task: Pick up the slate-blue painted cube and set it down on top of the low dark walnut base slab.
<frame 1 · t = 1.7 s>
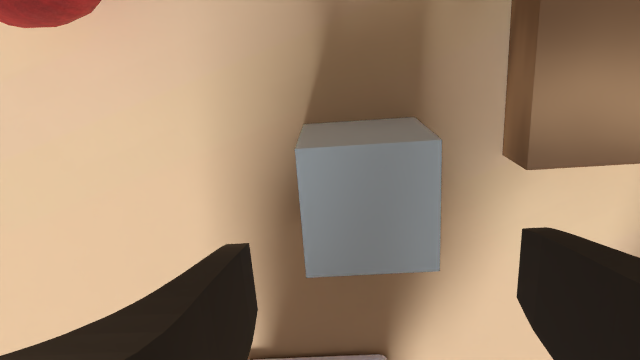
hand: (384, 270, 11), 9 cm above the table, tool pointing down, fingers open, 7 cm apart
cube: (360, 173, 20), on the table
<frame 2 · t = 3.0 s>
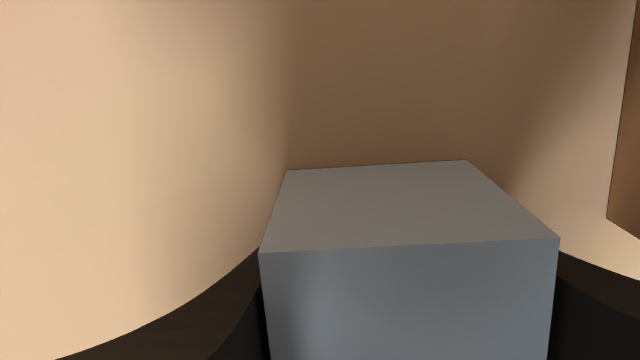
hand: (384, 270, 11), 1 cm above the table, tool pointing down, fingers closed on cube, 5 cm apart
cube: (378, 246, 13), on the table, touching gripper
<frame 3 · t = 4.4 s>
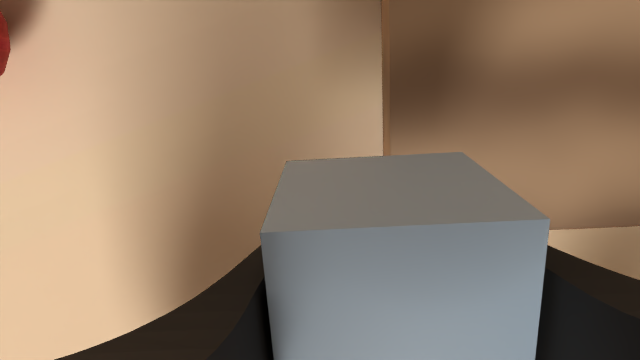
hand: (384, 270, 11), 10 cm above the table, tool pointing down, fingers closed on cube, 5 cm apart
base: (504, 97, 19), on the table
cube: (375, 236, 13), point 8 cm above the table, touching gripper
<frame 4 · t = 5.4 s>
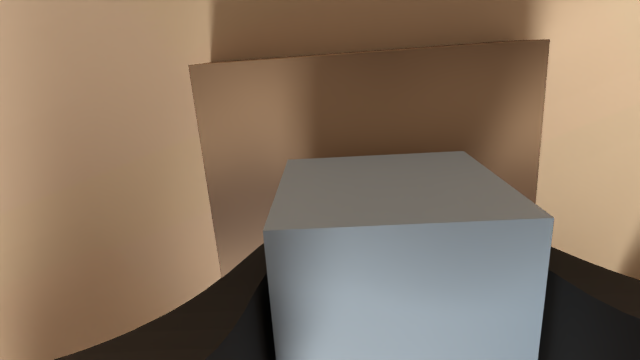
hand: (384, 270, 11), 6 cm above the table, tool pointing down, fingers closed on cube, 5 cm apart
base: (365, 194, 17), on the table
cube: (376, 235, 13), point 4 cm above the table, touching gripper
when the fingers open (5 cm above the table, at t = 6.0 s): cube drops 1 cm, resting on base.
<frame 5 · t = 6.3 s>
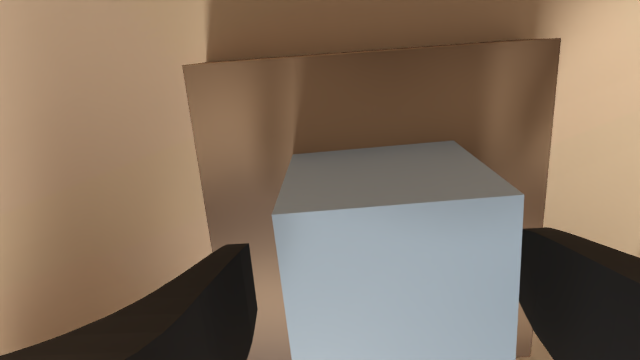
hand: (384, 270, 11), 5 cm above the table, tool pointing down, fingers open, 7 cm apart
base: (367, 199, 16), on the table
cube: (376, 221, 14), point 2 cm above the table, touching base
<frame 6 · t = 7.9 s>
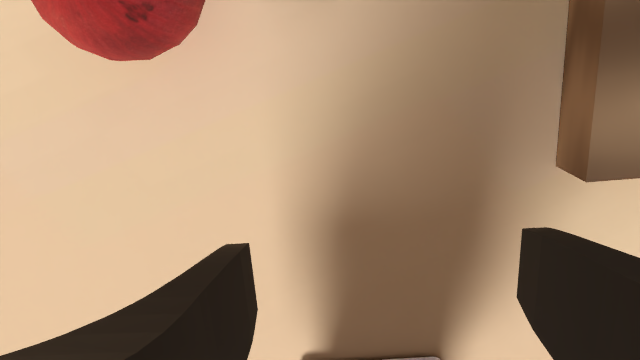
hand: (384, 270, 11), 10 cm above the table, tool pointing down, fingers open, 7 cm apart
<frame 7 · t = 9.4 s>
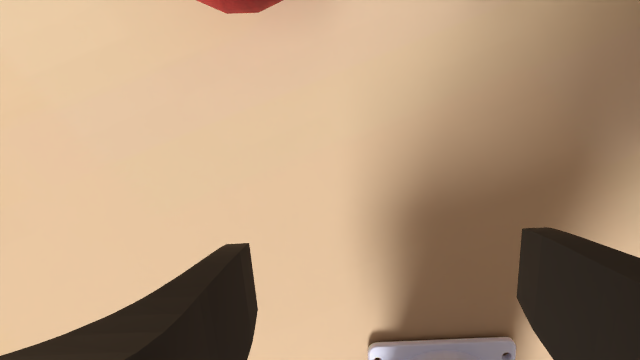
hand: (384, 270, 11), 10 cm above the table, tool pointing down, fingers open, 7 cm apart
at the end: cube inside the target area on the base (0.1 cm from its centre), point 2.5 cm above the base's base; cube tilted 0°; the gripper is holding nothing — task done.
